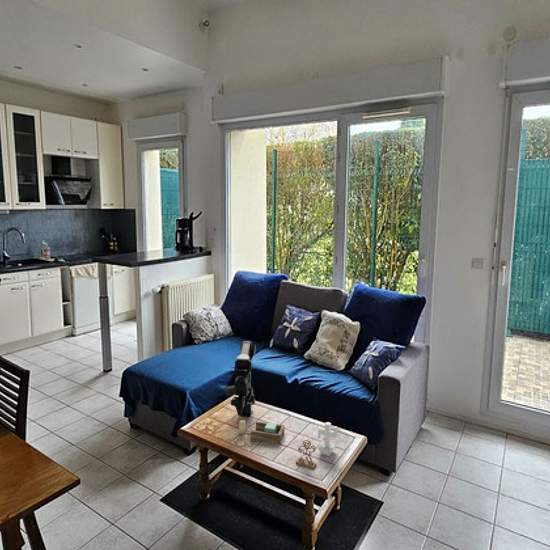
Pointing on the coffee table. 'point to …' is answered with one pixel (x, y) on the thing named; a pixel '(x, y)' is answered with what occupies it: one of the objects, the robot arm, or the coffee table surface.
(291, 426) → the coffee table surface
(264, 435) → the open wooden tray
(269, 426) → the block with cord
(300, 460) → the wire sculpture
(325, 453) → the figurine
